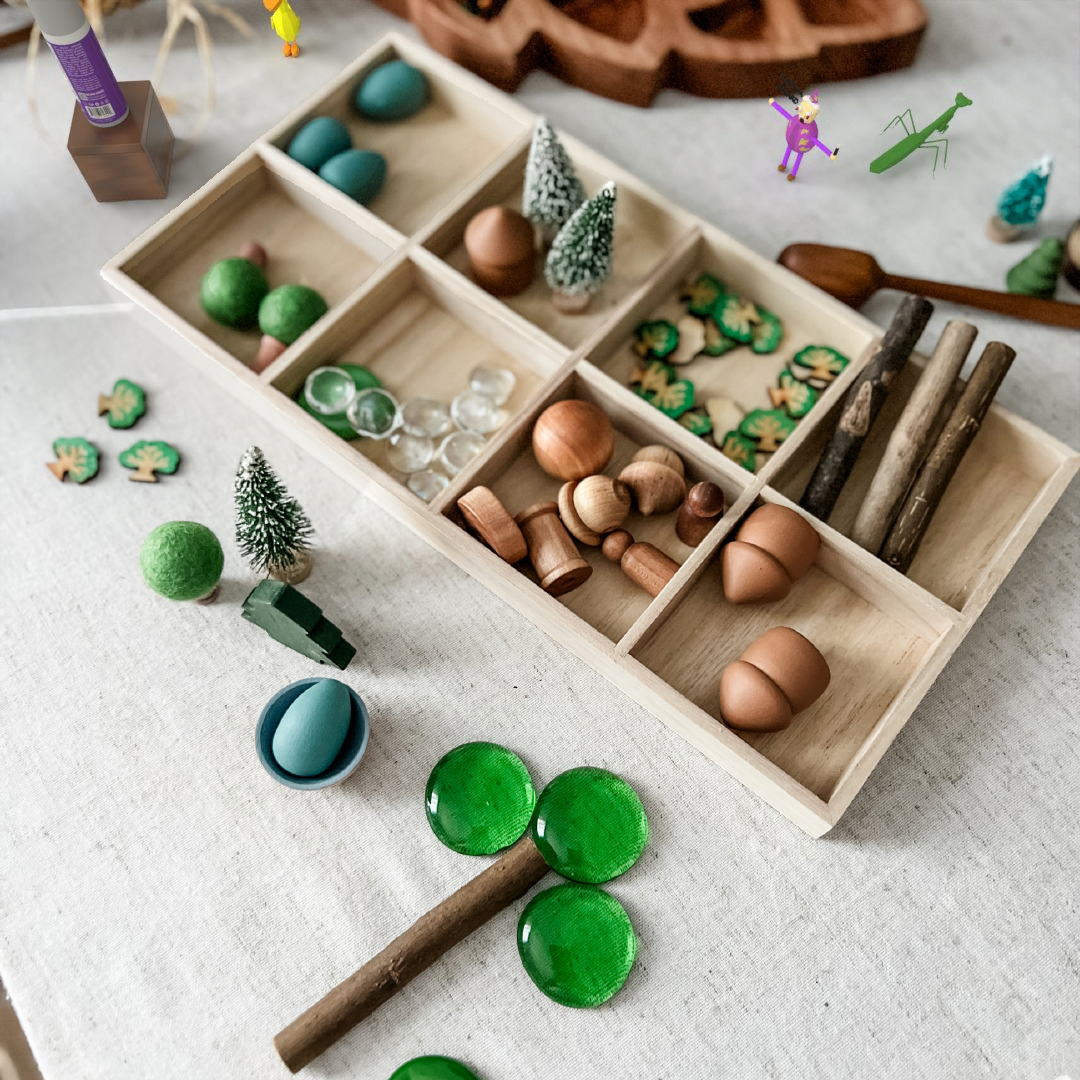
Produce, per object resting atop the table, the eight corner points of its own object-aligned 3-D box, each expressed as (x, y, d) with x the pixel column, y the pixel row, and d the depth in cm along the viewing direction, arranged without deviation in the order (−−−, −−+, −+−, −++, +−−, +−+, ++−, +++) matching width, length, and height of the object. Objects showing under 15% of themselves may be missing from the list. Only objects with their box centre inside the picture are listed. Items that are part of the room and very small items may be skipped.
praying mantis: (981, 150, 113) (998, 118, 109) (894, 206, 109) (908, 176, 105) (924, 105, 116) (938, 73, 112) (837, 158, 112) (848, 127, 108)
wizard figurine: (748, 150, 113) (771, 62, 102) (768, 139, 114) (793, 51, 103) (811, 208, 109) (841, 123, 98) (831, 196, 110) (864, 111, 99)
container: (138, 106, 105) (78, -24, 91) (111, 133, 103) (46, 5, 89) (104, 92, 105) (40, -38, 92) (77, 118, 104) (8, -11, 90)
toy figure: (300, 71, 118) (276, -21, 108) (272, 69, 119) (245, -22, 108) (309, 35, 121) (287, -58, 110) (282, 33, 121) (257, -59, 110)
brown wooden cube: (97, 202, 109) (66, 147, 102) (108, 139, 113) (78, 83, 106) (166, 198, 109) (140, 143, 102) (174, 136, 114) (150, 79, 106)
